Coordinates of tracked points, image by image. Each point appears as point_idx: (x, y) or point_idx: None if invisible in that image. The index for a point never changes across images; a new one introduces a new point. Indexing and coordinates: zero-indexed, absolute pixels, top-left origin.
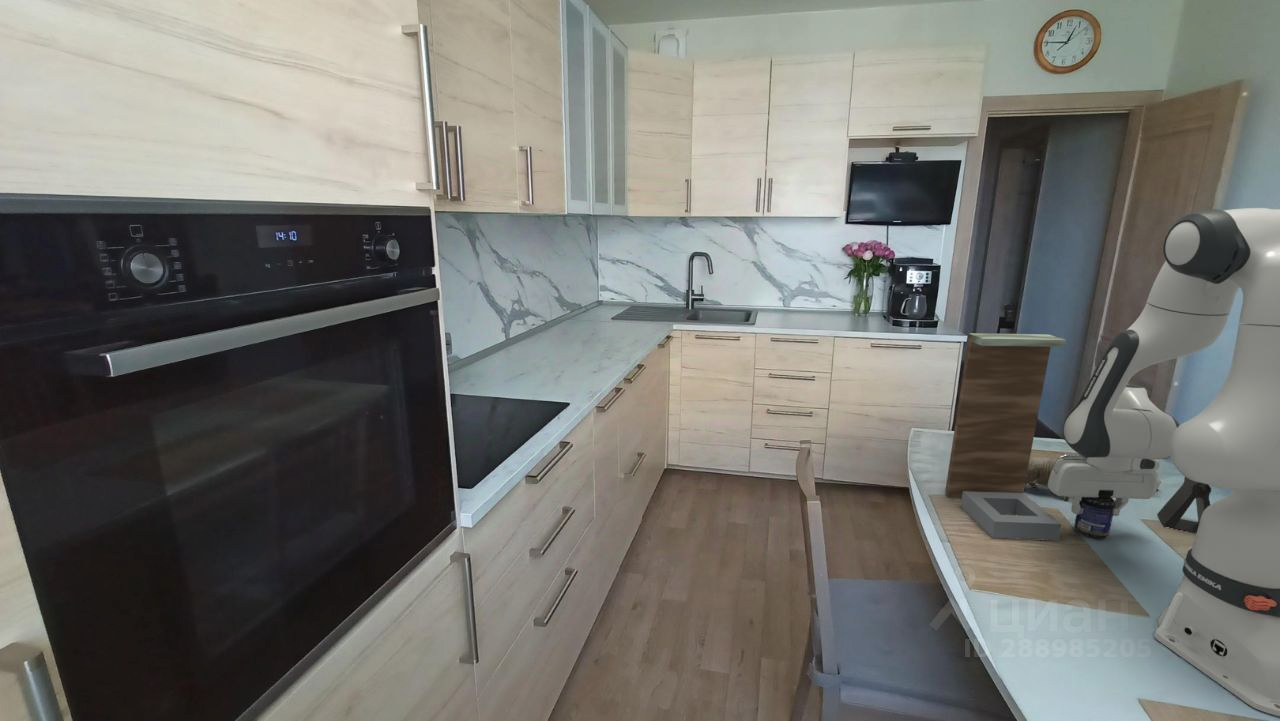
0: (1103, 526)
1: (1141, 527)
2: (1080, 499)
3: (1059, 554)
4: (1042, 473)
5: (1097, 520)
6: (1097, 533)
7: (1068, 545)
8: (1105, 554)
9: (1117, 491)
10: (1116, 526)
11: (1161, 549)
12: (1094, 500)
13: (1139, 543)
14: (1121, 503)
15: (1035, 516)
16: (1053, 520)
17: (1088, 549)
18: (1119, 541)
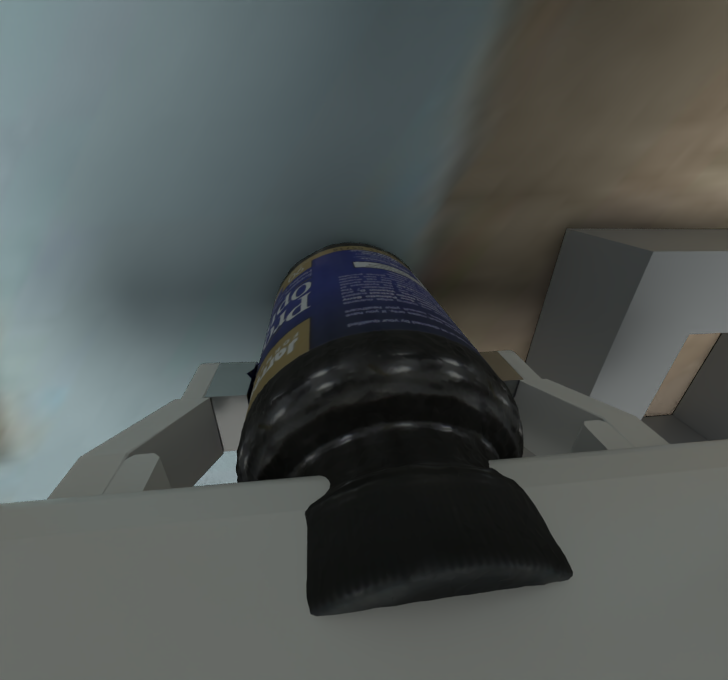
0: (360, 264)
1: (35, 392)
2: (598, 431)
3: (698, 67)
4: None
5: (414, 286)
6: (380, 251)
7: (559, 179)
8: (432, 72)
9: (226, 603)
10: (169, 387)
11: (6, 155)
12: (504, 420)
13: (128, 225)
14: (156, 446)
15: (709, 330)
16: (657, 293)
17: (487, 136)
18: (241, 241)
